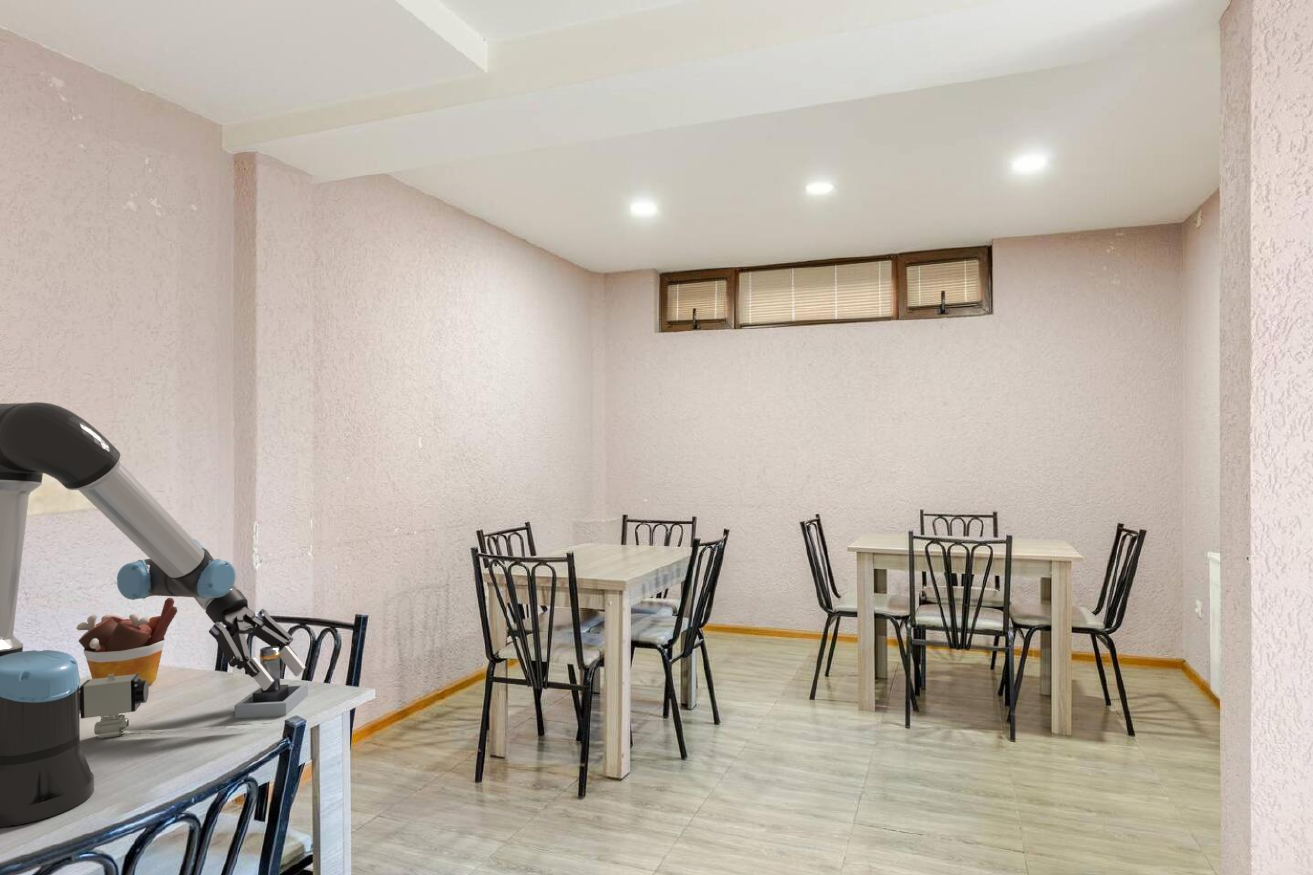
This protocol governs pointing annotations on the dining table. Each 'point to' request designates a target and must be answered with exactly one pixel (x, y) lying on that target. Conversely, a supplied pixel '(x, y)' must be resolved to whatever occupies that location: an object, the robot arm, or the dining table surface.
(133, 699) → the pneumatic valve
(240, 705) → the bin
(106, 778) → the dining table surface
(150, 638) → the bucket of meat
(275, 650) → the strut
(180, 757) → the dining table surface
